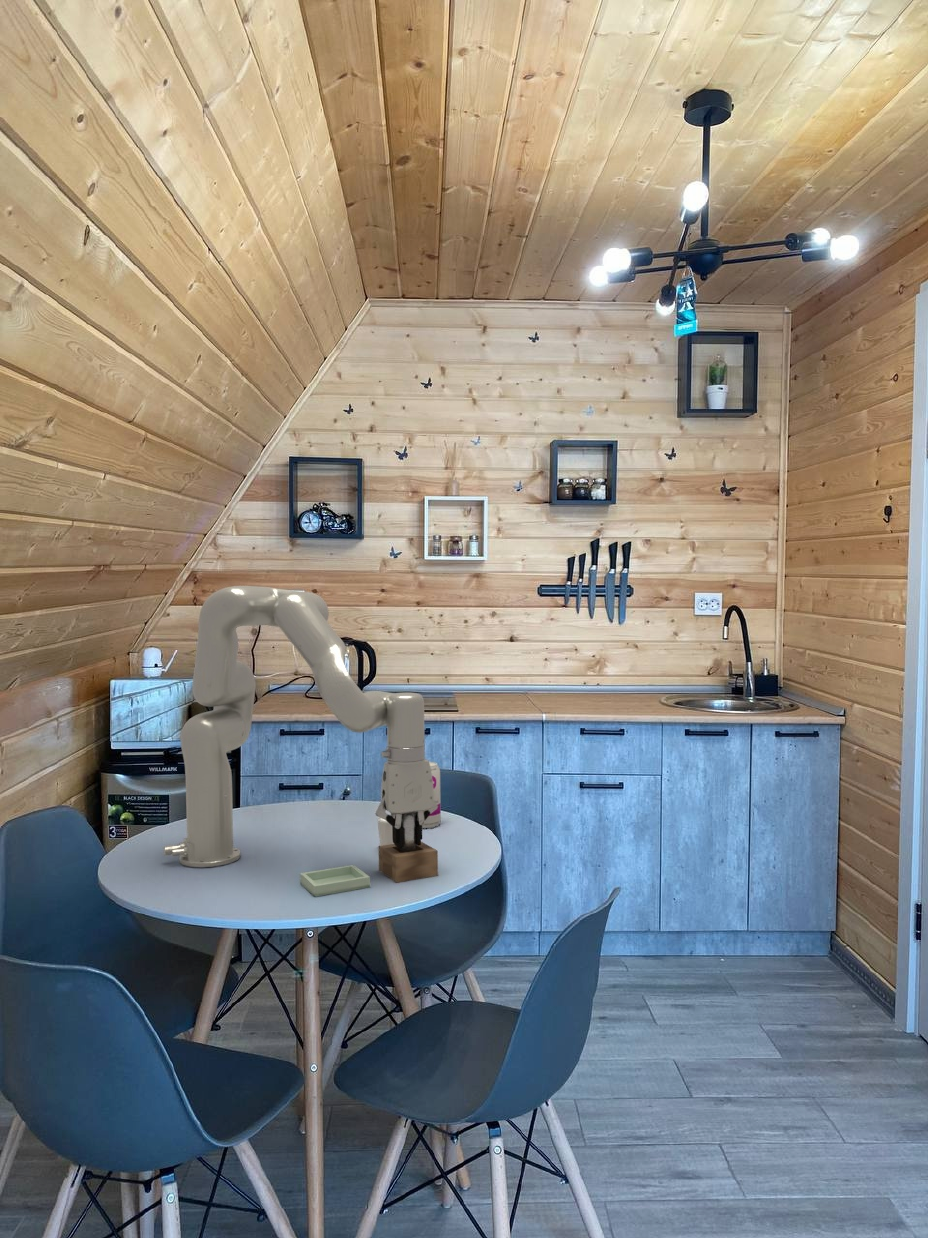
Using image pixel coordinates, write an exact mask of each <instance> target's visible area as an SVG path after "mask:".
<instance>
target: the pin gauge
mask: <svg viewBox="0 0 928 1238" xmlns="http://www.w3.org/2000/svg"><path fill="white" fill-rule="evenodd" d="M401 828H403V843H404V847H403V848H400V853H406V852H412V851H416V838H415V812H411V813H404V814H402V817H401Z"/></svg>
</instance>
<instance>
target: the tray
mask: <svg viewBox="0 0 928 1238" xmlns="http://www.w3.org/2000/svg"><path fill="white" fill-rule="evenodd" d="M299 876H300V878H299V881H300V882H299V883H300V885H301V886H302V887H303V888H305V889H306V890H307V891H308V892H309V893H310V894H311V895H312V896H313V897H314V898H316V897H323V896H327V895H328V896H329V895H333V894H334V893H335V894H340V893H345V892H351V891H357V890H362V888H363V889H368V888H367V887H369V888H371V877H370V875H368V874H367V873H365V872H364V871H363V870H361V869H359V867H357V866H356V865H354V864H351V865H346V866H345V865H343V866H338V867H331V868H326V869H325V868H324V869H319V870H313V871H308V872H300V873H299ZM335 894H334V895H335Z"/></svg>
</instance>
